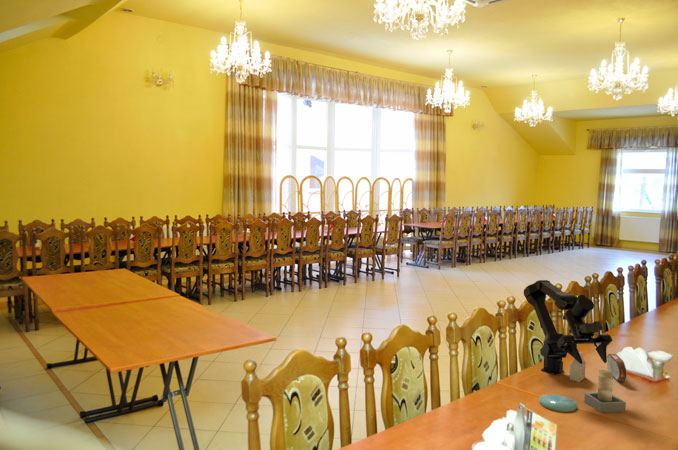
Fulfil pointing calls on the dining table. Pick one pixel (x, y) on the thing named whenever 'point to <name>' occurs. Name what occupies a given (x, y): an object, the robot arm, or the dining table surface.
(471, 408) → the dining table surface
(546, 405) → the saucer
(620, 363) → the tin
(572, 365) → the milk carton
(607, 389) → the peg
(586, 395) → the pocket
